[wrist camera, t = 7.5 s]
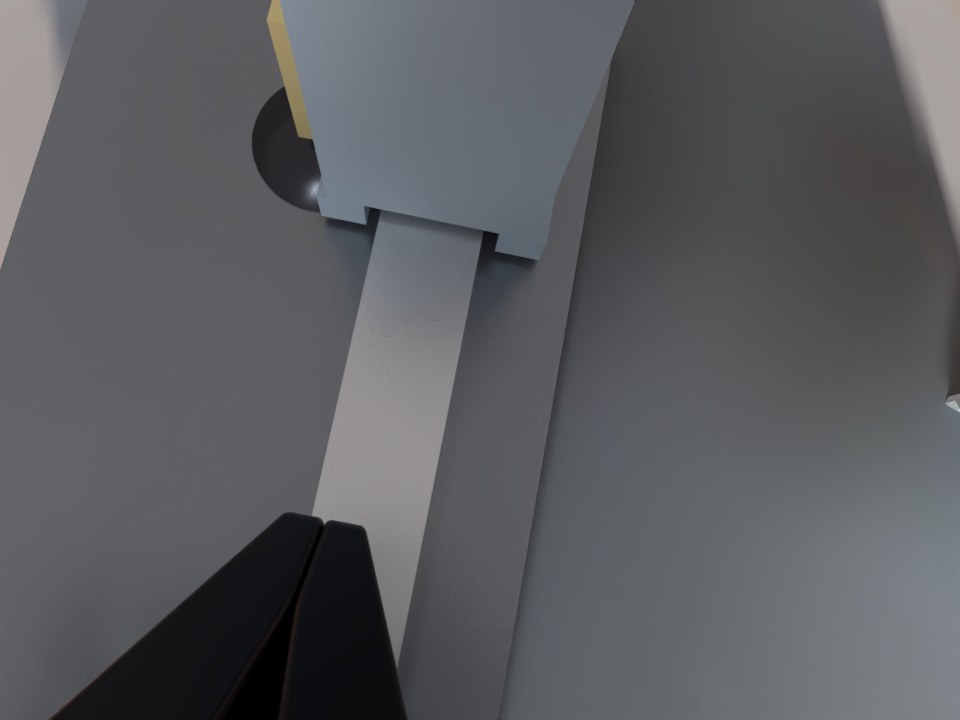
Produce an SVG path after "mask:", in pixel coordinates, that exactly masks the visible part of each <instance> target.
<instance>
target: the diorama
mask: <svg viewBox="0 0 960 720" xmlns="http://www.w3.org/2000/svg"><path fill="white" fill-rule="evenodd" d="M945 404H947V405H948V406H950V407H952V408H953V409H955V410H956V411H958V412H960V392H959V394H957V395H953V396H949V397H948V398H947V400H946V402H945Z"/></svg>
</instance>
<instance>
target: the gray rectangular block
mask: <svg viewBox="0 0 960 720" xmlns="http://www.w3.org/2000/svg"><path fill="white" fill-rule="evenodd" d="M634 3H635V0H272V2H271V6H270V9H269V13H268V17H267V23H268V27H269V30H270V34H271V38H272V41H273V45H274V49H275V52H276V56H277V60H278V63H279V67H280V71H281V74H282V78H283V82H284V85H285V89H286V93H287V96H288V100H289V104H290V107H291V111H292V115H293V119H294V122H295V126H296V130H297V133H298V137H303V138H308V139H312V140H313V142H314V146H315V151H316V155H317V159H318V163H319V167H320V171H321V179H320V183H319V187H318V191H317V195H316V197H317V200H318V204H319V208H320V212H321V215H322V216H326V217H331V218H336V219H340V220H345V221H350V222H355V223H360V224H365V225H366V224H367V220H368V215H369V211H370V207H372V208H377V209H382V210H387V211H391V212H396V213H401V214H406V215H411V216H416V217H421V218H425V219H430V220H435V221H440V222H445V223H450V224H455V225H459V226H464V227H469V228H474V229H479V230H484V231H488V232H493V233H498V237H497V242H496V247H495V251H496V252H501V253H506V254H511V255H516V256H520V257H525V258H530V259H535V260H539V259H540V257H541V254H542V252H543V250H544V248H545V246H546V243H547V238H548V232H549V227H550V221H551V216H552V210H553V204H554V199H555V194H556V192H557V189H558V187H559V185H560V182H561V180H562V177H563V175H564V172H565V170H566V168H567V165H568V163H569V160H570V158H571V156H572V153H573V151H574V148H575V146H576V143H577V141H578V139H579V136H580V134H581V131H582V129H583V126H584V124H585V122H586V119H587V117H588V114H589V112H590V109H591V107H592V105H593V102H594V100H595V97H596V95H597V93H598V90H599V88H600V85H601V83H602V80H603V78H604V76H605V73H606V71H607V68H608V66H609V63H610V61H611V59H612V56H613V54H614V51H615V49H616V46H617V44H618V42H619V39H620V37H621V34H622V32H623V29H624V27H625V25H626V22H627V20H628V17H629V15H630V13H631V10H632V8H633V5H634Z"/></svg>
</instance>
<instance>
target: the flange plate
mask: <svg viewBox="0 0 960 720" xmlns="http://www.w3.org/2000/svg"><path fill="white" fill-rule="evenodd" d="M271 2H272V0H88V1H87V4H86V7H85V10H84V13H83V16H82V19H81V22H80V25H79V28H78V31H77V35H76V38H75V41H74V44H73V47H72V50H71V53H70V56H69V59H68V62H67V65H66V68H65V72H64V75H63V78H62V81H61V84H60V87H59V90H58V93H57V96H56V99H55V103H54V106H53V109H52V112H51V115H50V118H49V121H48V124H47V127H46V130H45V133H44V136H43V140H42V143H41V146H40V149H39V152H38V155H37V158H36V161H35V165H34V167H33V170H32V174H31V177H30V180H29V183H28V186H27V189H26V192H25V195H24V198H23V201H22V204H21V208H20V211H19V214H18V217H17V220H16V223H15V226H14V229H13V232H12V235H11V238H10V241H9V245H8V248H7V251H6V254H5V257H4V260H3V263H2V266H1V269H0V720H48V719H49V718H50V717H51V716H52V715H53V714H55V713H56V712H57V711H58V710H59V709H60V708H61V707H63V706H64V705H65V704H66V703H67V702H68V701H69V700H71V699H72V698H73V697H74V696H75V695H76V694H77V693H79V692H80V691H81V690H82V689H83V688H84V687H85V686H87V685H88V684H89V683H90V682H91V681H92V680H93V679H95V678H96V677H97V676H98V675H99V674H100V673H101V672H103V671H104V670H105V669H106V668H107V667H108V666H109V665H111V664H112V663H113V662H114V661H115V660H116V659H117V658H118V657H120V656H121V655H122V654H123V653H124V652H125V651H126V650H128V649H129V648H130V647H131V646H132V645H133V644H134V643H136V642H137V641H138V640H139V639H140V638H141V637H142V636H144V635H145V634H146V633H147V632H148V631H149V630H150V629H152V628H153V627H154V626H155V625H156V624H157V623H158V622H160V621H161V620H162V619H163V618H164V617H165V616H166V615H168V614H169V613H170V612H171V611H172V610H173V609H174V608H176V607H177V606H178V605H179V604H180V603H181V602H182V601H184V600H185V599H186V598H187V597H188V596H189V595H190V594H192V593H193V592H194V591H195V590H196V589H197V588H198V587H200V586H201V585H202V584H203V583H204V582H205V581H206V580H208V579H209V578H210V577H211V576H212V575H213V574H214V573H216V572H217V571H218V570H219V569H220V568H221V567H222V566H224V565H225V564H226V563H227V562H228V561H229V560H230V559H232V558H233V557H234V556H235V555H236V554H237V553H238V552H240V551H241V550H242V549H243V548H244V547H245V546H246V545H247V544H249V543H250V542H251V541H252V540H253V539H254V538H255V537H257V536H258V535H259V534H260V533H261V532H262V531H263V530H265V529H266V528H267V527H268V526H269V525H270V524H271V523H273V522H274V521H275V520H276V519H277V518H278V517H279V516H281V515H282V514H284V513H286V512H294V513H300V514H305V515H310V516H315V517H319V518H321V519H322V520H323V522H324V524H325V523H326V522H327V521H329V520H336V521H342V522H347V523H352V524H357V525H361V526H363V527H364V528H365V530H366V532H367V536H368V541H369V545H370V550H371V554H372V559H373V563H374V568H375V572H376V577H377V581H378V586H379V590H380V595H381V599H382V604H383V608H384V613H385V617H386V622H387V626H388V631H389V635H390V640H391V644H392V648H393V653H394V657H395V662H396V666H397V671H398V675H399V680H400V684H401V689H402V693H403V698H404V702H405V707H406V711H407V716H408V720H498V719H499V713H500V707H501V702H502V696H503V690H504V684H505V678H506V672H507V667H508V661H509V655H510V649H511V643H512V637H513V632H514V626H515V620H516V614H517V608H518V603H519V597H520V591H521V585H522V579H523V573H524V568H525V562H526V556H527V550H528V544H529V538H530V533H531V527H532V521H533V515H534V509H535V503H536V498H537V492H538V486H539V480H540V474H541V469H542V463H543V457H544V451H545V445H546V439H547V434H548V428H549V422H550V416H551V410H552V404H553V399H554V393H555V387H556V381H557V375H558V369H559V364H560V358H561V352H562V346H563V340H564V335H565V329H566V323H567V317H568V311H569V305H570V300H571V294H572V288H573V282H574V276H575V270H576V265H577V259H578V253H579V247H580V241H581V235H582V230H583V224H584V218H585V212H586V206H587V201H588V195H589V189H590V183H591V177H592V171H593V166H594V160H595V154H596V148H597V142H598V136H599V131H600V125H601V119H602V113H603V107H604V101H605V96H606V90H607V84H608V78H609V72H610V67H611V61H612V59H611V61H610V63H609V66H608V68H607V71H606V73H605V76H604V78H603V80H602V83H601V85H600V88H599V90H598V93H597V95H596V97H595V100H594V102H593V105H592V107H591V109H590V112H589V114H588V117H587V119H586V122H585V124H584V126H583V129H582V131H581V134H580V136H579V139H578V141H577V143H576V146H575V148H574V151H573V153H572V156H571V158H570V160H569V163H568V165H567V168H566V170H565V172H564V175H563V177H562V180H561V182H560V185H559V187H558V189H557V192H556V194H555V199H554V204H553V210H552V216H551V221H550V227H549V232H548V238H547V243H546V246H545V248H544V250H543V252H542V254H541V257H540V259H539V260H535V259H530V258H525V257H520V256H516V255H511V254H506V253H501V252H496V251H495V247H496V242H497V237H498V233H493V232H488V231H484V230H479V229H474V228H469V227H464V226H459V225H455V224H450V223H445V222H440V221H435V220H430V219H425V218H421V217H416V216H411V215H406V214H401V213H396V212H391V211H387V210H382V209H377V208H372V207H370V211H369V215H368V220H367V224H366V225H365V224H360V223H355V222H350V221H345V220H340V219H336V218H331V217H326V216H322V215H321V212H320V208H319V204H318V200H317V197H316V195H317V191H318V187H319V183H320V179H321V171H320V167H319V163H318V159H317V155H316V151H315V146H314V142H313V140H312V139H308V138H303V137H298V133H297V130H296V126H295V122H294V119H293V115H292V111H291V107H290V104H289V100H288V96H287V93H286V89H285V85H284V82H283V78H282V74H281V71H280V67H279V63H278V60H277V56H276V52H275V49H274V45H273V41H272V38H271V34H270V30H269V27H268V23H267V17H268V13H269V9H270V6H271Z"/></svg>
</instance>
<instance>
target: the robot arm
mask: <svg viewBox="0 0 960 720" xmlns="http://www.w3.org/2000/svg"><path fill="white" fill-rule="evenodd" d="M48 720H408V716H407V711H406V707H405V702H404V698H403V693H402V689H401V684H400V680H399V675H398V671H397V666H396V662H395V657H394V653H393V648H392V644H391V640H390V635H389V631H388V626H387V622H386V617H385V613H384V608H383V604H382V599H381V595H380V590H379V586H378V581H377V577H376V572H375V568H374V563H373V559H372V554H371V550H370V545H369V541H368V536H367V532H366V530H365V528H364V527H363V526H361V525H357V524H352V523H347V522H342V521H336V520H329V521H327V522H326V523H325V524H324V522H323V520H322V519H321V518H319V517H315V516H310V515H305V514H300V513H294V512H286V513H284V514H282V515H281V516H279V517H278V518H277V519H276V520H275V521H274V522H273V523H271V524H270V525H269V526H268V527H267V528H266V529H265V530H263V531H262V532H261V533H260V534H259V535H258V536H257V537H255V538H254V539H253V540H252V541H251V542H250V543H249V544H247V545H246V546H245V547H244V548H243V549H242V550H241V551H240V552H238V553H237V554H236V555H235V556H234V557H233V558H232V559H230V560H229V561H228V562H227V563H226V564H225V565H224V566H222V567H221V568H220V569H219V570H218V571H217V572H216V573H214V574H213V575H212V576H211V577H210V578H209V579H208V580H206V581H205V582H204V583H203V584H202V585H201V586H200V587H198V588H197V589H196V590H195V591H194V592H193V593H192V594H190V595H189V596H188V597H187V598H186V599H185V600H184V601H182V602H181V603H180V604H179V605H178V606H177V607H176V608H174V609H173V610H172V611H171V612H170V613H169V614H168V615H166V616H165V617H164V618H163V619H162V620H161V621H160V622H158V623H157V624H156V625H155V626H154V627H153V628H152V629H150V630H149V631H148V632H147V633H146V634H145V635H144V636H142V637H141V638H140V639H139V640H138V641H137V642H136V643H134V644H133V645H132V646H131V647H130V648H129V649H128V650H126V651H125V652H124V653H123V654H122V655H121V656H120V657H118V658H117V659H116V660H115V661H114V662H113V663H112V664H111V665H109V666H108V667H107V668H106V669H105V670H104V671H103V672H101V673H100V674H99V675H98V676H97V677H96V678H95V679H93V680H92V681H91V682H90V683H89V684H88V685H87V686H85V687H84V688H83V689H82V690H81V691H80V692H79V693H77V694H76V695H75V696H74V697H73V698H72V699H71V700H69V701H68V702H67V703H66V704H65V705H64V706H63V707H61V708H60V709H59V710H58V711H57V712H56V713H55V714H53V715H52V716H51V717H50V718H49V719H48Z"/></svg>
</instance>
